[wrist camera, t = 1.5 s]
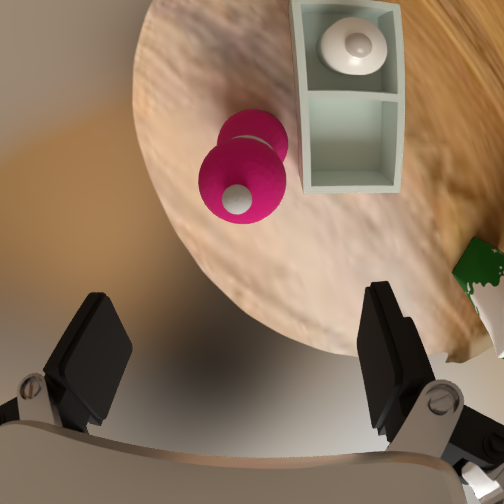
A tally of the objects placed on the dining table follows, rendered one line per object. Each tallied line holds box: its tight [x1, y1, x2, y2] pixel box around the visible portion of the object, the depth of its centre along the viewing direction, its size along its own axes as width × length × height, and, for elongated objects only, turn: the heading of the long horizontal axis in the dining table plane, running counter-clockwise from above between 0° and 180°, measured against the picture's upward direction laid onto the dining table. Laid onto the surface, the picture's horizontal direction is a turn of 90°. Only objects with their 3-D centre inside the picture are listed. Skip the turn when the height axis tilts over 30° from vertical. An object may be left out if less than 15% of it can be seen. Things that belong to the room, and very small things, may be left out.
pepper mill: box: [198, 110, 288, 224], centre depth 26 cm, size 7×7×20 cm
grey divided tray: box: [288, 0, 405, 194], centre depth 28 cm, size 20×11×6 cm, turn 5°
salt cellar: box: [316, 17, 387, 75], centre depth 24 cm, size 6×6×8 cm
